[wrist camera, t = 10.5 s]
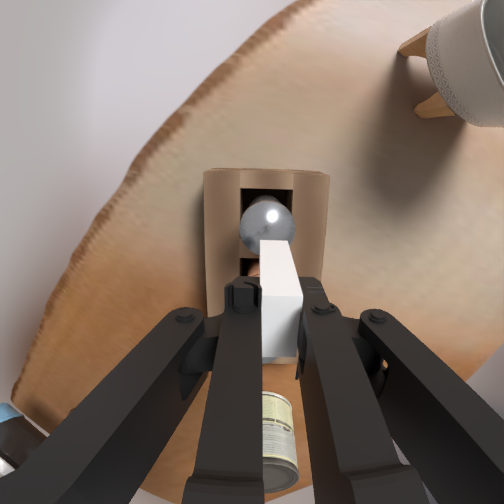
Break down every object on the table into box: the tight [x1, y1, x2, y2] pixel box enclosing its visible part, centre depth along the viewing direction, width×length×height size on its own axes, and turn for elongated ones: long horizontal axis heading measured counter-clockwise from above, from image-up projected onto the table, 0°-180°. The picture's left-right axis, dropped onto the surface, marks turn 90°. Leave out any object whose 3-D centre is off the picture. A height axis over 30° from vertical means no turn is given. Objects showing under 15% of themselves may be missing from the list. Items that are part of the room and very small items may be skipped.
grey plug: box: [240, 195, 296, 255], centre depth 28 cm, size 4×4×7 cm
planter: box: [398, 0, 504, 127], centre depth 21 cm, size 13×13×18 cm
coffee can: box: [262, 391, 299, 493], centre depth 40 cm, size 10×10×14 cm
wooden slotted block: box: [204, 168, 330, 364], centre depth 35 cm, size 12×22×6 cm, turn 179°
